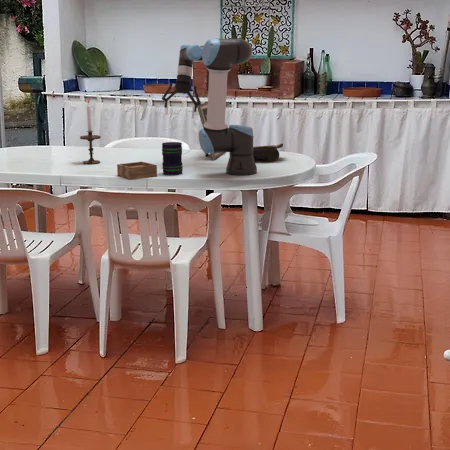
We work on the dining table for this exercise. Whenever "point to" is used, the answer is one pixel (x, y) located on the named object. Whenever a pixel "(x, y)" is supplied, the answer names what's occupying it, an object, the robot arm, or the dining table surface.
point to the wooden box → (137, 170)
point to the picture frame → (203, 116)
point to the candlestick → (90, 137)
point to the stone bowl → (267, 152)
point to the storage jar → (172, 158)
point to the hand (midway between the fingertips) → (179, 116)
